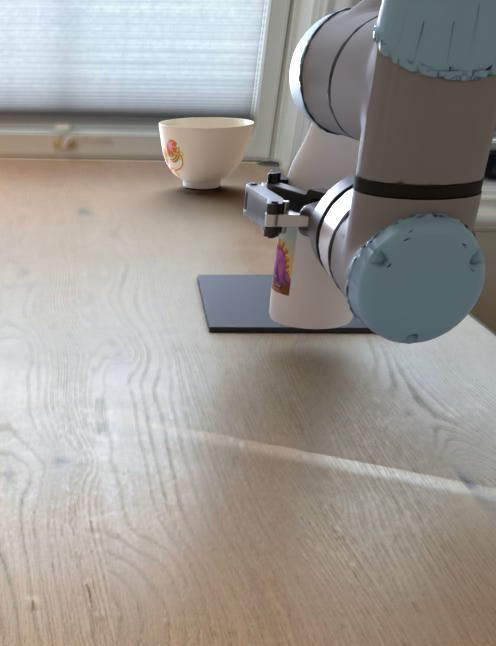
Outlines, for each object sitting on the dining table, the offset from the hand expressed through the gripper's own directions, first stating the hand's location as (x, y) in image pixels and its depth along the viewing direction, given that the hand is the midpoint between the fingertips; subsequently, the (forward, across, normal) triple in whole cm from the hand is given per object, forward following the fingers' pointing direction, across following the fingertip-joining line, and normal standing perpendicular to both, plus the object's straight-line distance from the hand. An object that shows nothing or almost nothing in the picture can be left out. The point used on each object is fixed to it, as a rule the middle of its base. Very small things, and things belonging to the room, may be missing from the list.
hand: (318, 183), depth 90 cm
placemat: (+12, 0, -14) cm, 18 cm away
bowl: (+89, -4, -14) cm, 90 cm away
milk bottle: (-5, 0, -11) cm, 12 cm away
